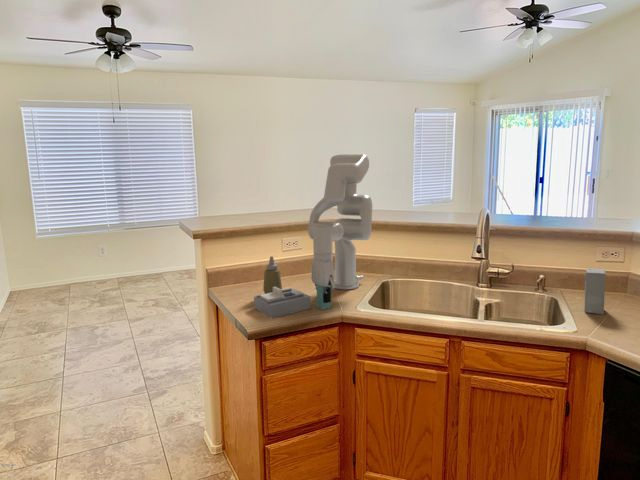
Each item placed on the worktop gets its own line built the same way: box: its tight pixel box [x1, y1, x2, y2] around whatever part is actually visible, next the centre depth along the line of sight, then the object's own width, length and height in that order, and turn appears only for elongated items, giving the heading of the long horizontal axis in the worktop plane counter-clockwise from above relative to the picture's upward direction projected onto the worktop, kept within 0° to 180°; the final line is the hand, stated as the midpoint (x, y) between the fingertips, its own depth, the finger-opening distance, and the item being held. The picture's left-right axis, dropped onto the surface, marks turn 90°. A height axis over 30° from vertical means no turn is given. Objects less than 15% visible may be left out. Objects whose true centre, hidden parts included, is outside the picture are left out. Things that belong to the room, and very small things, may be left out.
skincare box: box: [584, 268, 607, 315], centre depth 177 cm, size 8×7×16 cm
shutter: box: [259, 287, 285, 301], centre depth 183 cm, size 7×7×3 cm
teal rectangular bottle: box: [316, 284, 332, 310], centre depth 186 cm, size 4×4×12 cm
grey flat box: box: [253, 288, 312, 319], centre depth 186 cm, size 18×14×6 cm
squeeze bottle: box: [263, 256, 283, 294], centre depth 199 cm, size 8×8×18 cm
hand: (323, 300), depth 187 cm, fingers closed on teal rectangular bottle, 4 cm apart
